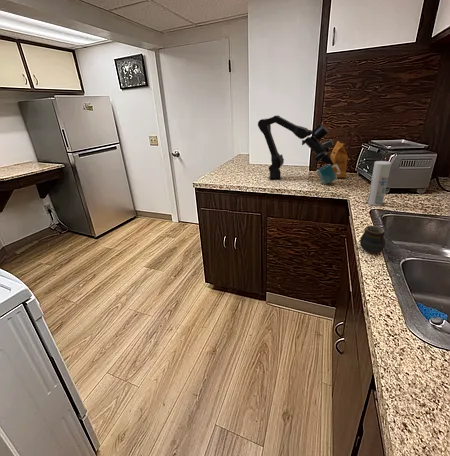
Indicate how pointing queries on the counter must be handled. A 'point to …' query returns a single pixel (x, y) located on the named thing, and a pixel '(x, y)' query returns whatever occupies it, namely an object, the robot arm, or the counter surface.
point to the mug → (328, 173)
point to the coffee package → (339, 159)
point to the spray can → (379, 182)
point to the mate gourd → (373, 239)
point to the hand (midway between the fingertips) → (332, 164)
